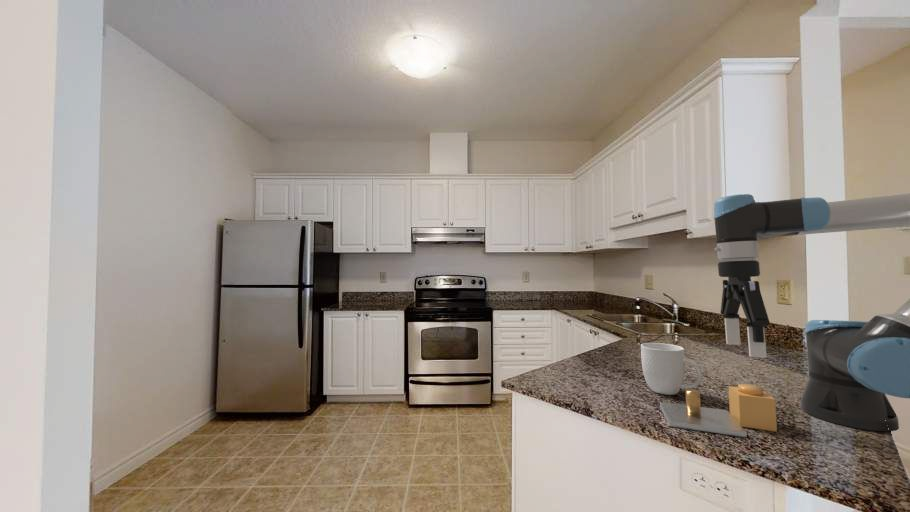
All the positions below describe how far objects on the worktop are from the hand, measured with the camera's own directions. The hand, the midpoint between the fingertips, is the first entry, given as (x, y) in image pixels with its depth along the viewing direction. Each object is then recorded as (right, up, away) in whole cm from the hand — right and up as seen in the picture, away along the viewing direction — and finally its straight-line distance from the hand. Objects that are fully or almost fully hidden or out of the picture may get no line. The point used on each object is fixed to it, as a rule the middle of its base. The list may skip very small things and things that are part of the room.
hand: (744, 350), depth 78 cm
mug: (-6, -18, +19) cm, 27 cm away
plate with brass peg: (-10, -17, 0) cm, 20 cm away
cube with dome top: (+1, -17, -1) cm, 17 cm away
